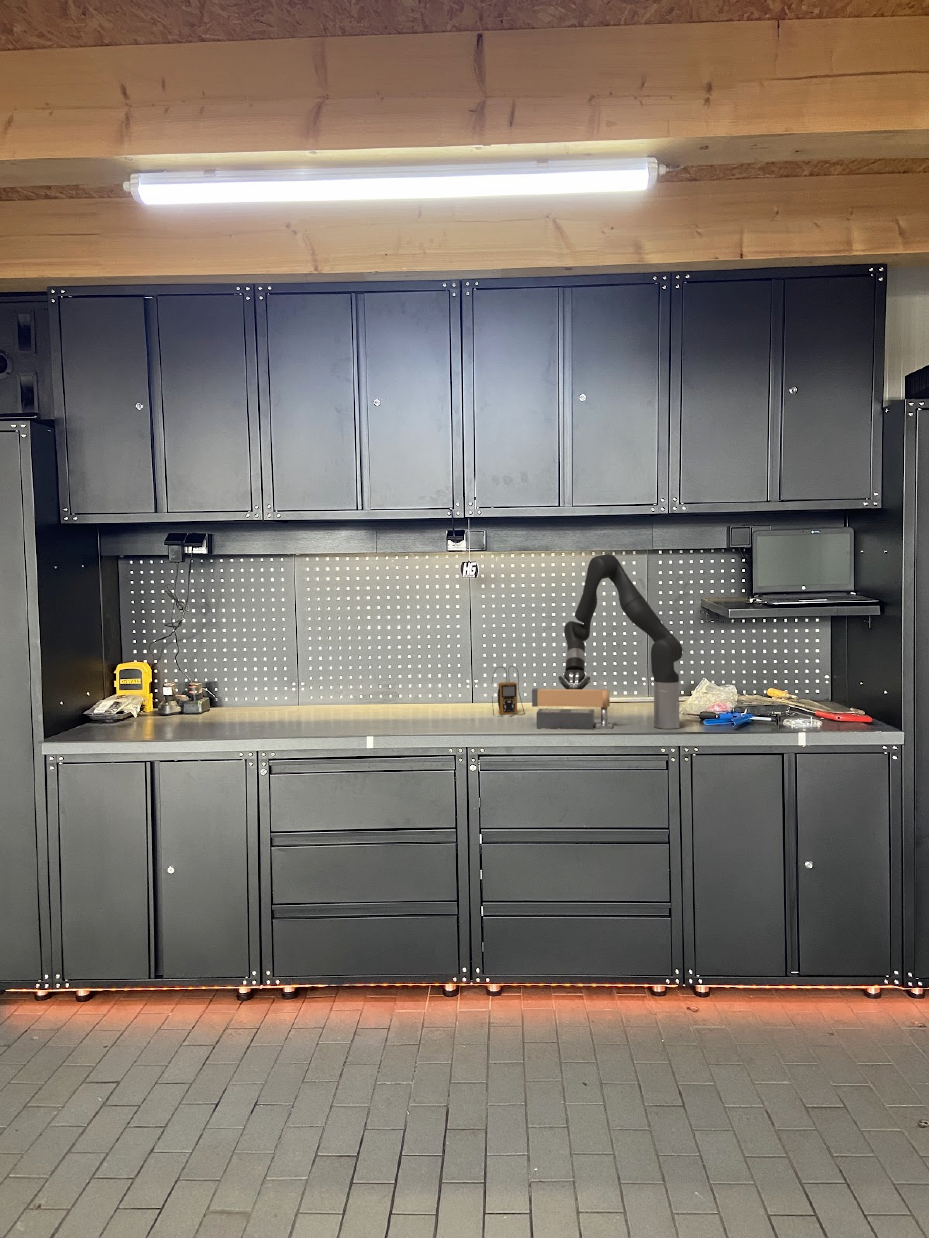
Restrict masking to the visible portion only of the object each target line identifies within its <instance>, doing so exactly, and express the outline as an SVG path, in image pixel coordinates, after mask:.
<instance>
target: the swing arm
mask: <svg viewBox="0 0 929 1238" xmlns="http://www.w3.org/2000/svg"><path fill="white" fill-rule="evenodd" d="M610 698H611V697H610V690H609V689H582V690H580V689H565V688H563V689H562V688H561V689H560V688H557V689H556V688H555V689H554V688H551V689H550V688H538V687H537V688H532V690H531V707H535V708H536V707H537V708H538V707H563V708H564V707H565V708H566V707H573V708H576V707H577V708H583V707H584V708H601V707H607V708H609V707H610V706H611V705H610V701H611V700H610Z"/></svg>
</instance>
